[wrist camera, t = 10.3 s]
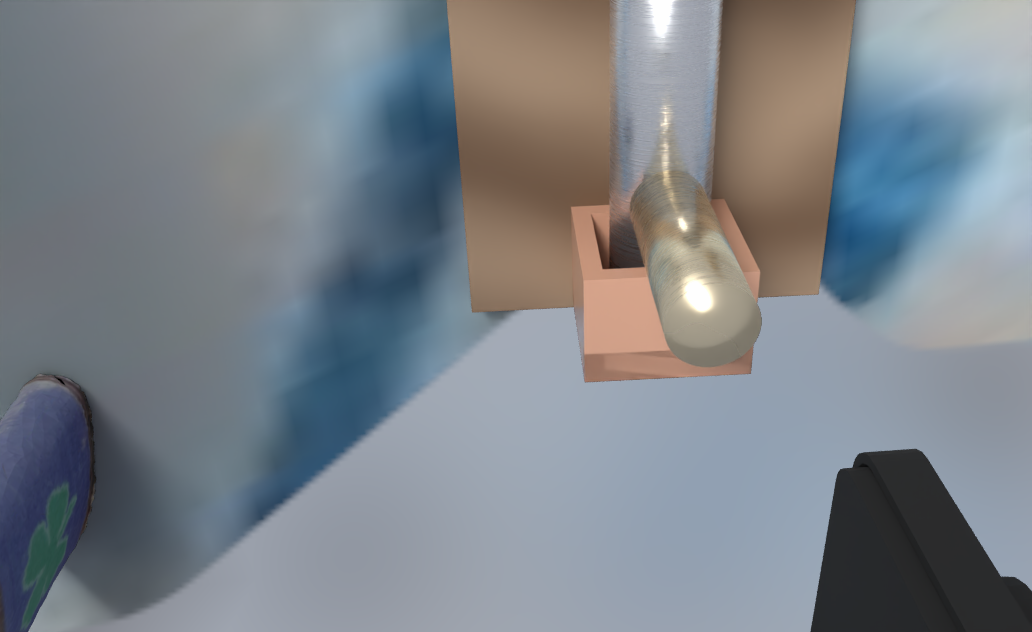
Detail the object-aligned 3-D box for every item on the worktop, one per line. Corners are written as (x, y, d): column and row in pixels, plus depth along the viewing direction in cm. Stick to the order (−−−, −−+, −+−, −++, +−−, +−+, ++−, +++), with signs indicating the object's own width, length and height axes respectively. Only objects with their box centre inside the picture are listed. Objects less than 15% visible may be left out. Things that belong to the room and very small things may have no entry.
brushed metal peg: (604, -221, 25) (659, -198, 17) (722, -228, 25) (835, -207, 17) (604, 285, 33) (643, 470, 24) (695, 280, 33) (764, 464, 24)
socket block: (571, 206, 32) (583, 280, 28) (724, 198, 32) (760, 271, 28) (572, 299, 34) (584, 382, 30) (717, 292, 34) (750, 373, 30)
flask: (23, 364, 37) (-133, 578, 27) (104, 381, 37) (-22, 596, 28) (18, 542, 41) (-118, 777, 32) (90, 555, 42) (-23, 790, 32)
